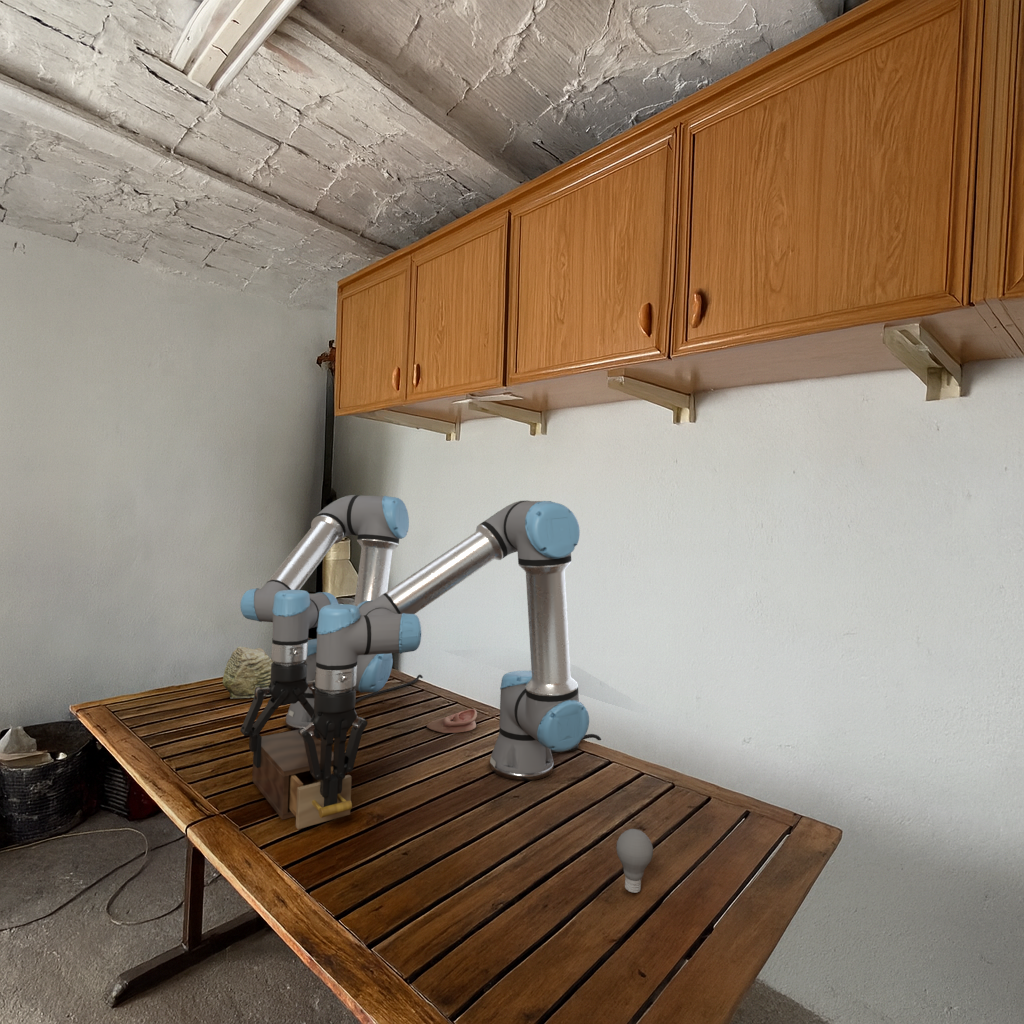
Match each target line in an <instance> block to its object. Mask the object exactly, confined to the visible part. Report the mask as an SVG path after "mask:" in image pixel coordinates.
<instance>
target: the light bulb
mask: <svg viewBox="0 0 1024 1024" xmlns="http://www.w3.org/2000/svg"><path fill="white" fill-rule="evenodd" d="M615 849H616V854H617V857H618V859H619V861H620V863H621V865H622V867H623V873H624V874H623V875H624V876H625V878H624V888H625V890H627V891H628V892H630V893H634V894H635V893H639V892H640V891H641V889H642V887H641V886H642V879H643V877H644V875H645V871H646V868H647V867H648V866H649V864H650V863H651V861H652V859H653V855H654V847H653V843H652V841H651V838H649V836H648V835H647V834H646V833H645V832H643V831H642V830H641V829H636V828H629V829H627V830H625V831H623V832H622V833H621V834H620V835H619V837H618V839H617V841H616V847H615Z"/></svg>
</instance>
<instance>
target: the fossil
mask: <svg viewBox="0 0 1024 1024" xmlns="http://www.w3.org/2000/svg"><path fill="white" fill-rule="evenodd" d="M273 662H274V661H272V660H271V657H270V656H269V655H268V654H267V653H266V652H265V650H264V649H263V648H260V647H258V648H251V647H247V646H246V647H245V646H238V647H237V648H236V649H235V650H233V651H232V653H231V656H230V657H229V659H228V660H227V663H226V666H225V668H224V671H223V675H222V676H223V677H222V685H223V687H224V688H225V690H226V691H228V693H229V698H230V699H250V698H254V693H255V688H256V687H260V688H266V687H269V685H270V683H271V664H272V663H273ZM266 697H272V696H271V695H270V693H268V694H267V695H266Z"/></svg>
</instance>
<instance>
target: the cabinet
mask: <svg viewBox="0 0 1024 1024" xmlns="http://www.w3.org/2000/svg"><path fill="white" fill-rule="evenodd" d="M298 731H299V730H288V731H283V732H278V733H273V734H267V735H261V737H262V740H261V766H260V767H259V768H257V767H256V766H255V765H254V764H253V763H252V774H251V775H252V777H251V778H252V779H251V781H252V783H253V784H254V785H255V787H256V788H257V789H258V790H259V792H260V793H261V794H262V796H263V797H264V798H265V800H266V801H267V802H268V803H269V805H270V806H271V807H272V809H273V810H274V811H275V812H276V814H277V815H278V816H279V818H280V819H281V820H282V821H284V820H287V819H290V818H294V817H295V815H294V814H293V813H292V812H291V811H290V809H289V808H288V790H289V775H293V774H297V773H302V772H306V771H310V768H309V764H308V759H307V754H306V749H305V744H304V740H303V738H302V737H301V735H300V734H299V732H298ZM312 738H313V740H314V742H315V747H316V751H317V756H318V761H319V766H320V756H321V739H320V738H319V739H318V738H316V737H315V736H314V737H312ZM253 754H254V752H252V755H253ZM333 757H334V751H332V759H331V766H333ZM295 818H296V817H295Z"/></svg>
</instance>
